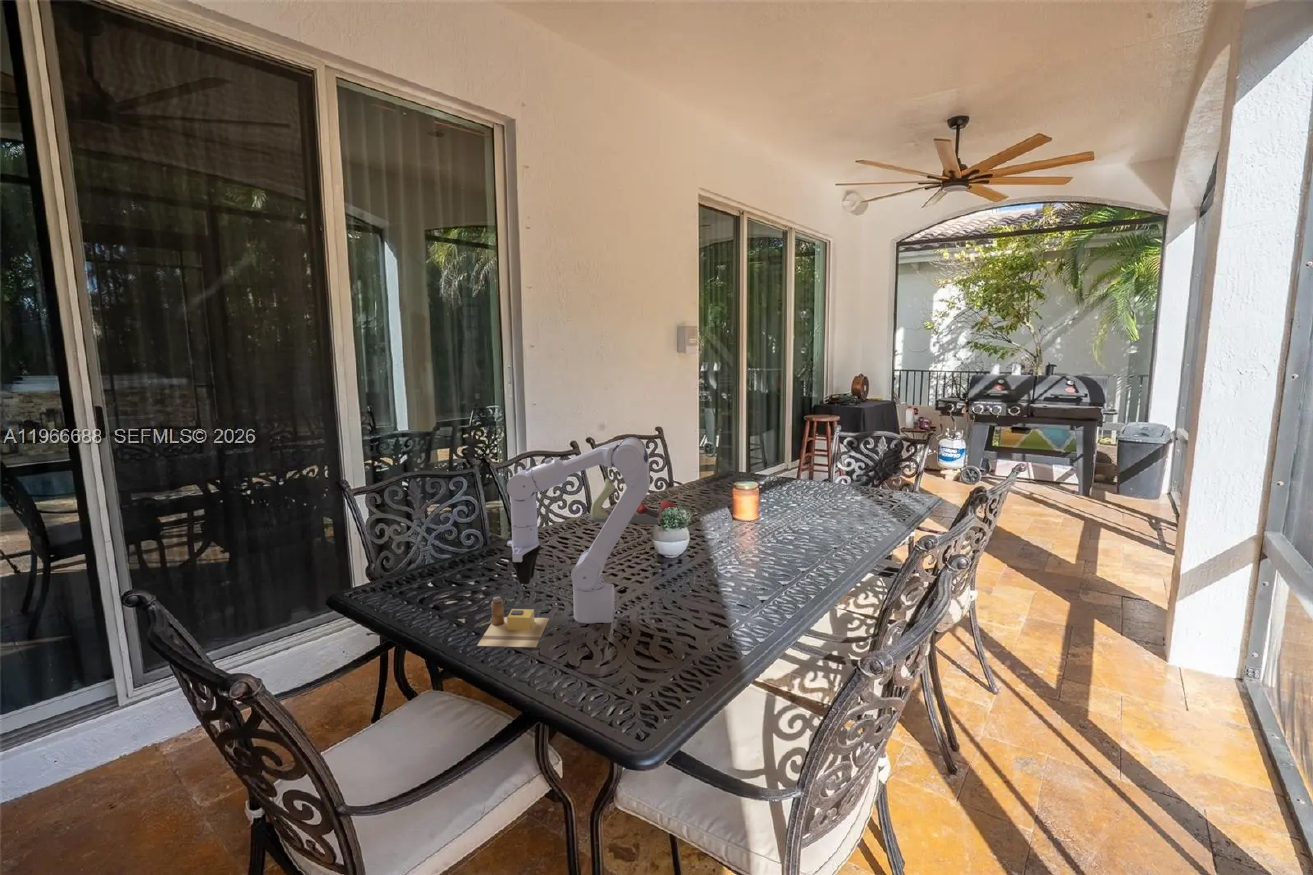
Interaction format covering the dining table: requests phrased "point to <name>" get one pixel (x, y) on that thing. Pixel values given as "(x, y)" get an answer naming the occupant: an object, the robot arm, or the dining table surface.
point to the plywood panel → (514, 635)
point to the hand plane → (640, 515)
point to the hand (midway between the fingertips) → (526, 580)
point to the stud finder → (520, 619)
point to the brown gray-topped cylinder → (497, 611)
